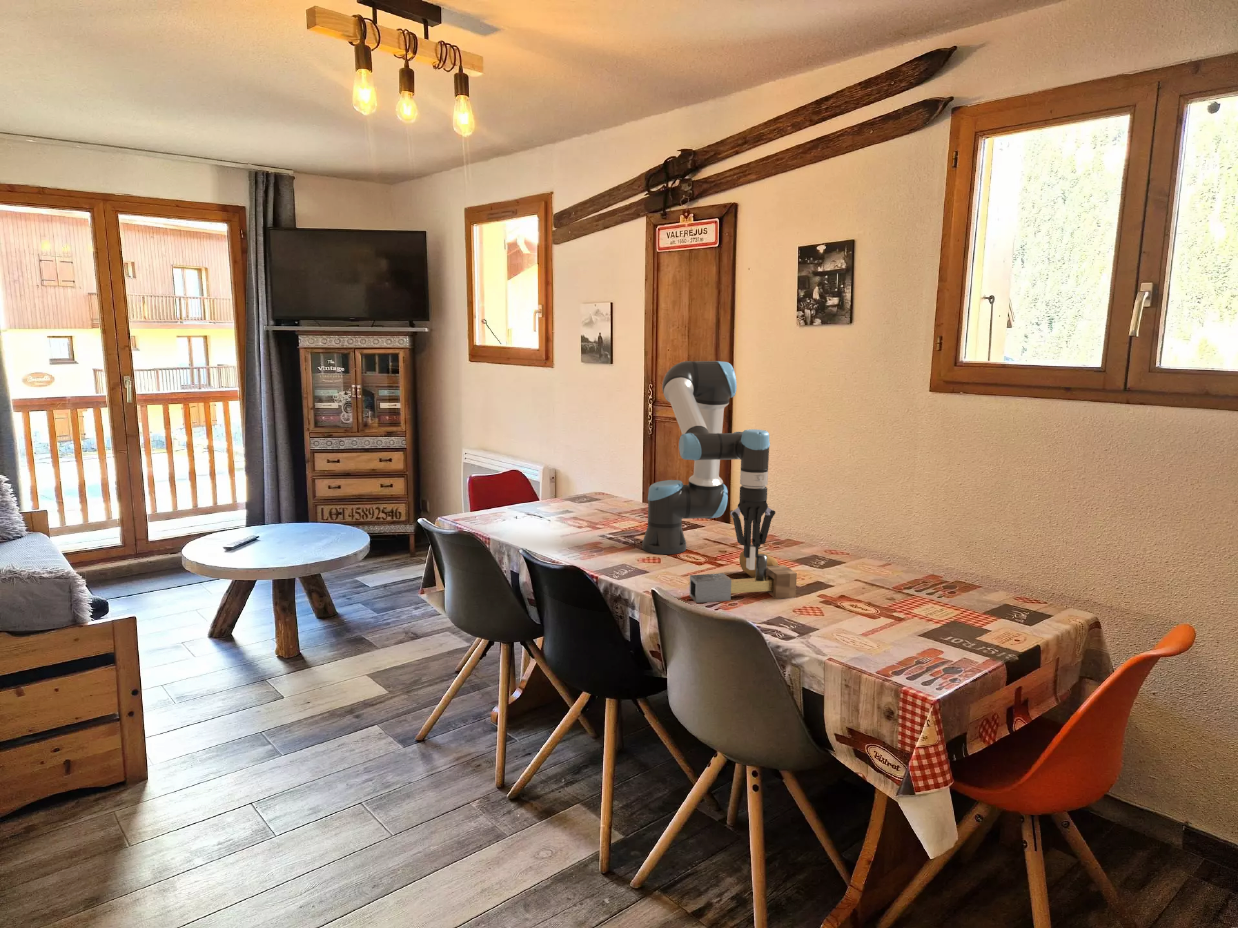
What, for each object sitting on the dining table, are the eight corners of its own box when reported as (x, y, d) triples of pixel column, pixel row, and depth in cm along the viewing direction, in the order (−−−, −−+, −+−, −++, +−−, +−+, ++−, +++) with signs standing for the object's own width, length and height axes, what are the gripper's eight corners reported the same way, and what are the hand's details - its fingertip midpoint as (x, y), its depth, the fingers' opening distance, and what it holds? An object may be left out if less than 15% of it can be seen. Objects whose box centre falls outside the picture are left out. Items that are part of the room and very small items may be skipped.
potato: (762, 586, 226) (763, 560, 225) (731, 574, 238) (732, 549, 237) (786, 581, 231) (788, 555, 230) (754, 569, 243) (755, 544, 242)
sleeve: (689, 595, 217) (689, 575, 216) (722, 593, 220) (723, 573, 219) (696, 602, 212) (696, 581, 211) (730, 600, 214) (731, 579, 213)
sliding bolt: (715, 590, 217) (716, 556, 216) (777, 586, 222) (779, 552, 220) (718, 594, 214) (719, 559, 213) (782, 589, 219) (783, 555, 217)
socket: (764, 589, 224) (765, 566, 222) (783, 588, 225) (784, 565, 224) (775, 598, 216) (776, 574, 215) (795, 597, 217) (796, 573, 216)
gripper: (736, 489, 208) (733, 573, 212) (781, 487, 211) (777, 571, 215) (726, 484, 215) (723, 565, 219) (770, 482, 218) (766, 563, 222)
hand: (750, 568), depth 217 cm, fingers closed
